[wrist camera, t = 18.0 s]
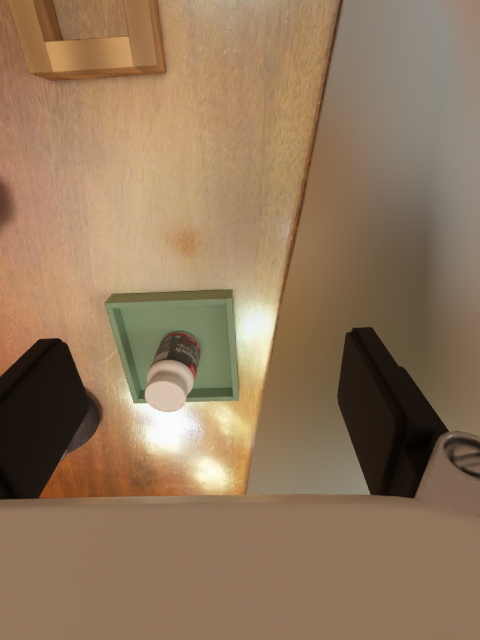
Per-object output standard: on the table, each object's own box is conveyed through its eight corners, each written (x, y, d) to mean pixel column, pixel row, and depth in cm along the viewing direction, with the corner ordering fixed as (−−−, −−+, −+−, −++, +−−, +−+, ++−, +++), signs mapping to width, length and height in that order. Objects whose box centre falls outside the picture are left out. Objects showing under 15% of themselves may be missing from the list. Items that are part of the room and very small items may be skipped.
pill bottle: (209, 350, 44) (201, 401, 35) (180, 370, 46) (165, 423, 37) (181, 322, 42) (164, 369, 33) (151, 344, 44) (129, 394, 35)
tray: (232, 289, 40) (231, 298, 38) (239, 388, 48) (238, 400, 46) (112, 294, 41) (104, 303, 38) (138, 391, 49) (133, 403, 47)
